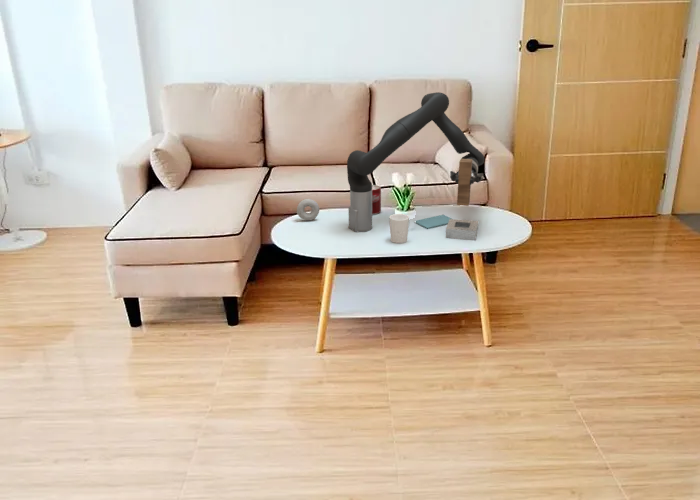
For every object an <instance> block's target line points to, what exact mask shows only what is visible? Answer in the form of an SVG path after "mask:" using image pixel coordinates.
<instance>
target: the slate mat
mask: <svg viewBox="0 0 700 500" xmlns="http://www.w3.org/2000/svg"><path fill="white" fill-rule="evenodd" d="M450 219H453V218H452V217H451V216H450V217H449V216H447V215H445V214H440V215H435V216H430V217H426V218H425V217H424V218H422V219H417V220H415V221H416V223H415V224H416V225H418V226H420V227H422V228H424V229H426V230H430V229H434V228H438V227H442V226H447V225H448V222H449V220H450Z"/></svg>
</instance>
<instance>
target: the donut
mask: <svg viewBox="0 0 700 500" xmlns="http://www.w3.org/2000/svg"><path fill="white" fill-rule="evenodd" d="M307 207H310V208H311V211H310V212H306V211H305V209H306V208H307ZM296 213H297V215H298V217H299V218H300V219H301V220H304V221H313V220H315V219H317V217H318V215H319V213H320V206H319V204H318V202H317V201H316V200H314V199H312V198H305V199H303V200H301V201H299V203H298V205H297V207H296Z"/></svg>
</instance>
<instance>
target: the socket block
mask: <svg viewBox="0 0 700 500" xmlns="http://www.w3.org/2000/svg"><path fill="white" fill-rule="evenodd" d="M478 231H479V220H472V219H471V220H470V219H459V218H458V219H455V218H452V219H450V220H449V222H448V225H446V227H445V239H456V240H466V241H468V240H469V241H476V238H477V234H478Z"/></svg>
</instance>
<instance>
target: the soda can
mask: <svg viewBox="0 0 700 500" xmlns="http://www.w3.org/2000/svg"><path fill="white" fill-rule="evenodd" d="M381 211H382V187H381V186H380V185H376V184H372V215H378V214H380V213H381Z"/></svg>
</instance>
